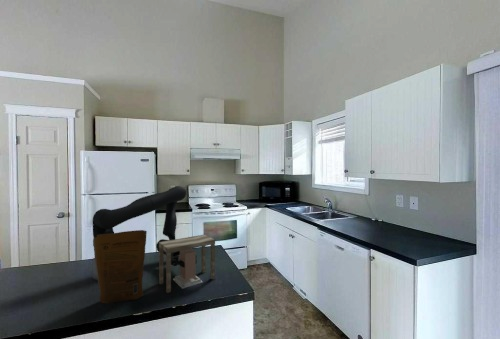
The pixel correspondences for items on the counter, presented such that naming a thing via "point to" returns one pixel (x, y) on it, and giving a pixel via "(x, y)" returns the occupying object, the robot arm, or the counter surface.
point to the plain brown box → (188, 264)
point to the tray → (187, 281)
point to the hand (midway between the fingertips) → (189, 263)
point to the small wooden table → (184, 245)
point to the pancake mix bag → (120, 265)
